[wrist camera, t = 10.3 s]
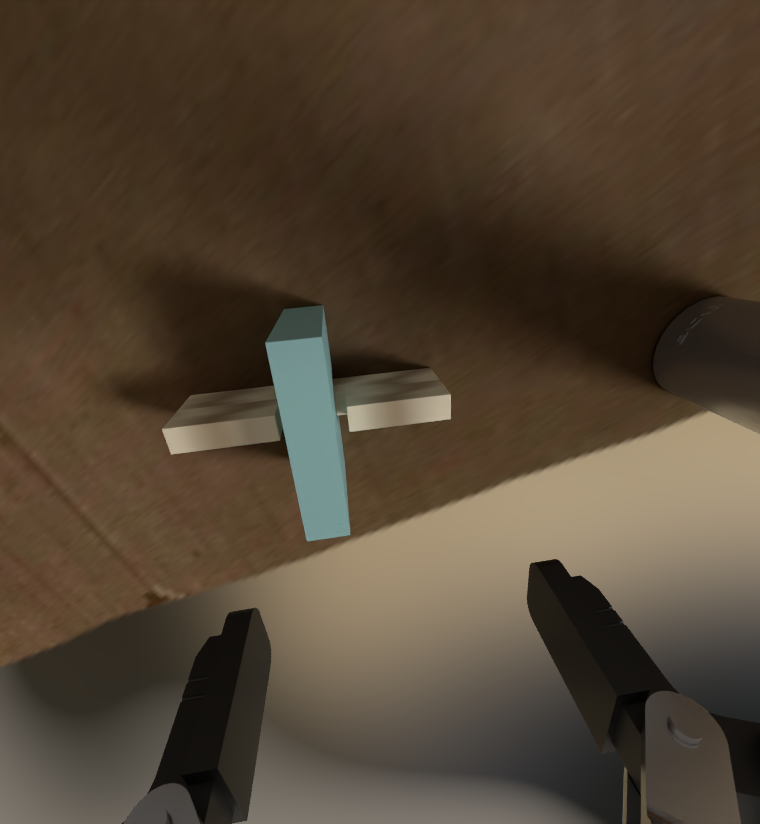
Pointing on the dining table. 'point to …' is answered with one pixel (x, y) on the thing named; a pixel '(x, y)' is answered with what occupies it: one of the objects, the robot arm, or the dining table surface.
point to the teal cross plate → (310, 419)
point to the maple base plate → (261, 422)
